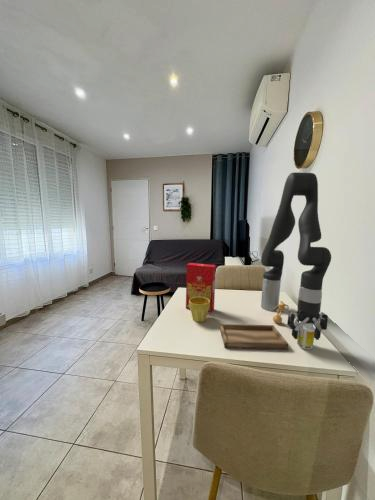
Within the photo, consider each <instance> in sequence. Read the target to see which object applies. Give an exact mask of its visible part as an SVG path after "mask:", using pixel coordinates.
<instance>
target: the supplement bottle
mask: <svg viewBox="0 0 375 500" xmlns="http://www.w3.org/2000/svg"><path fill="white" fill-rule="evenodd" d="M314 332H315V326H314V325H313V323H305V324H304V325H303V326H302V327H300V328H299V329H298V338H297V339H296V344H297V345H298V347H299V348H301V349H304V350H312V349H313V348H314V340H315V338H314Z"/></svg>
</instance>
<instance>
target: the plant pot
mask: <svg viewBox="0 0 375 500" xmlns="http://www.w3.org/2000/svg"><path fill="white" fill-rule="evenodd" d="M189 308H190V309H189V310H190V312H191V317H192V320H193V321H194V322H195V323H203V322H206V320H207V317H208V309H209V308H210V300H209V299H207V298H205V297H193V298H191V299H189Z"/></svg>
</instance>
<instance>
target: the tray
mask: <svg viewBox="0 0 375 500" xmlns="http://www.w3.org/2000/svg"><path fill="white" fill-rule="evenodd" d="M219 331H220V335H221V339H222V343H223V346H224V349H238V350H239V349H240V350H277V351H279V350H280V351H281V350H282V351H288V350H289V343H288V342H287V340H286V339H285V337H284V336H283V335H282V334H281V333H280V332H279V330H278V329H277V328H276V327H275V325H273V324H272V325H271V324H243V323H242V324H239V323H238V324H236V323H234V324H233V323H219Z"/></svg>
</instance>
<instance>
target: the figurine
mask: <svg viewBox="0 0 375 500" xmlns="http://www.w3.org/2000/svg"><path fill="white" fill-rule="evenodd" d="M276 307H278V310H276V313H277V314H275V315H273V317H272V320H273V323H275V324H281V323H282V322H283V317H281V316H282V314H283V311H284V310H285V308H286V309H287V310H290V309H289V307H290V306H289V305H287V304H285V303H284V301H282V300H279V305H277V306H276ZM276 307H275V308H276ZM275 308H273V309H275ZM273 309H272V310H273Z"/></svg>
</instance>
